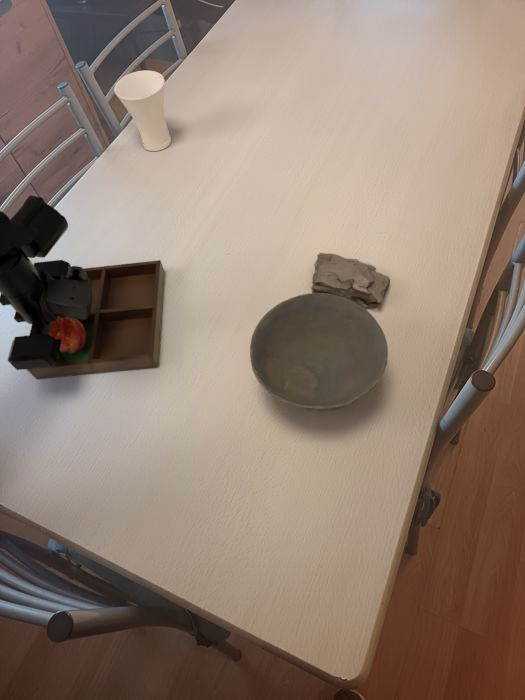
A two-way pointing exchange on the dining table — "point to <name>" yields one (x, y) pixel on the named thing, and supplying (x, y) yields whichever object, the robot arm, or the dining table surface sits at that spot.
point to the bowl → (318, 351)
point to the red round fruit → (68, 334)
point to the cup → (146, 106)
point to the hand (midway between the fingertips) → (66, 342)
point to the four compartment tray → (118, 322)
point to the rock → (349, 279)
